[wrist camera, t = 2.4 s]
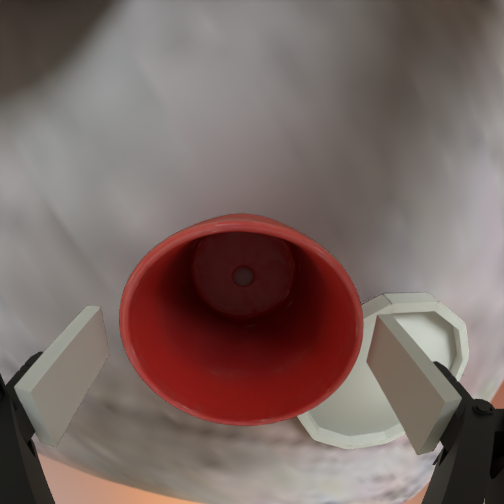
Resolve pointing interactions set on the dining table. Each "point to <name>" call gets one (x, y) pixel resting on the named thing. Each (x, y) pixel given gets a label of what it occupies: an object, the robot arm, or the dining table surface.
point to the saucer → (365, 384)
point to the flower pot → (241, 321)
